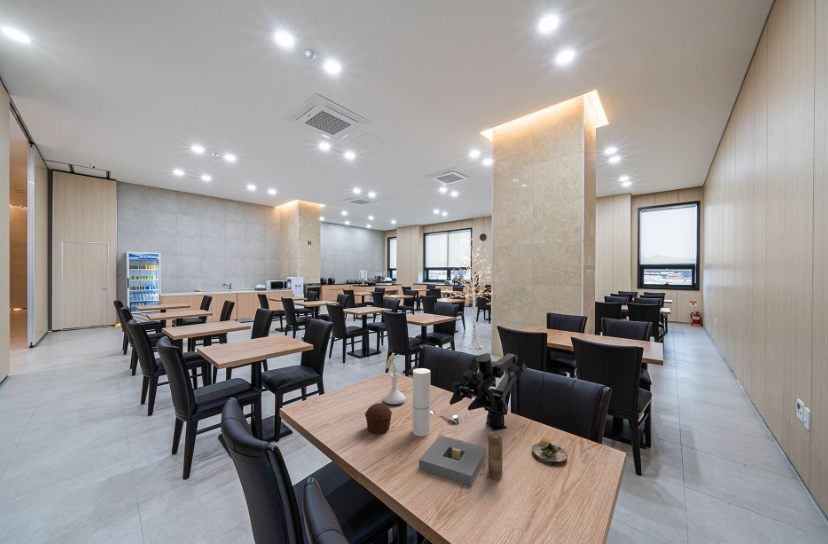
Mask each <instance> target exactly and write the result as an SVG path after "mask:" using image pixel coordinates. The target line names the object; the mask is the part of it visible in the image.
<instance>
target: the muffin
mask: <svg viewBox="0 0 828 544" xmlns="http://www.w3.org/2000/svg"><path fill="white" fill-rule="evenodd" d="M392 414H393V411H392V410H391V409H390V408H389V407H388V406H387V405H386V404H384V403H381V402H379V403H374V404H372V405H371V406H369V407H368V408H367V410H366V411H365V413H364V416H365V420H366V426H367V430H368V431H367V432H368V433H369V434H371V435H378V436H380V435H383V434H387V432H388V431H389V430H390V426H391V420H392Z"/></svg>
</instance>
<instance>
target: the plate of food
mask: <svg viewBox="0 0 828 544" xmlns="http://www.w3.org/2000/svg"><path fill="white" fill-rule="evenodd" d="M541 437H542V438H541V439H540V441H539V443H536V444H534V445H532V447H531V455H532V457H533V458H534V459H536V460H537V461H539V462H540V463H544V464H546V465H548V466H552V465H553V463H560V462H563V461H565V460H567V458H568V454H567V451H565V450H564V449H563V448H562V447H560V446H558V445H556V444H553V443H552V442H551V439H550V438H548V437H544V436H543V435H541Z"/></svg>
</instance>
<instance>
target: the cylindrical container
mask: <svg viewBox="0 0 828 544" xmlns="http://www.w3.org/2000/svg"><path fill="white" fill-rule="evenodd" d="M430 408H431V370H430V369H428V368H423V367H421V368H415V369H413V370H412V435H414V436H417V437H427V436H429V435H430V434H431V414H430V411H431V410H430Z"/></svg>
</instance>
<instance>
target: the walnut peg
mask: <svg viewBox="0 0 828 544" xmlns="http://www.w3.org/2000/svg"><path fill="white" fill-rule="evenodd" d="M487 440H488V441H487V442H488V447H487V457H488V458H487V462H488V463H487V466H488V467H487V471H488V472H487V476H488V478H489V480H492V481H495V482H496V481H497V482H498V481H500V480H501V479H502V477H503V434H501V433H497V432H494V431H489V433H488V439H487Z"/></svg>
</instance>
